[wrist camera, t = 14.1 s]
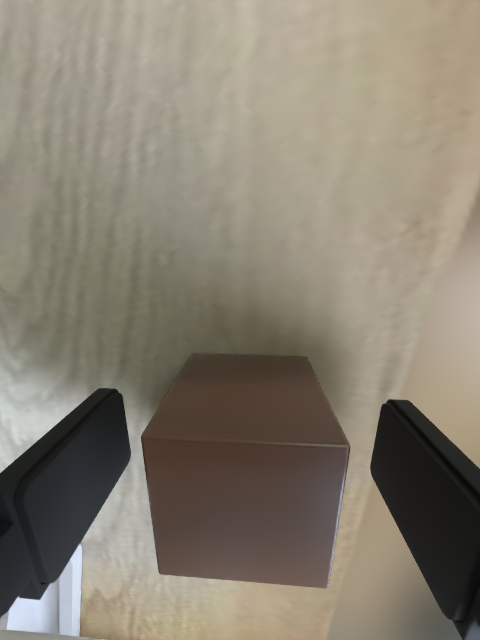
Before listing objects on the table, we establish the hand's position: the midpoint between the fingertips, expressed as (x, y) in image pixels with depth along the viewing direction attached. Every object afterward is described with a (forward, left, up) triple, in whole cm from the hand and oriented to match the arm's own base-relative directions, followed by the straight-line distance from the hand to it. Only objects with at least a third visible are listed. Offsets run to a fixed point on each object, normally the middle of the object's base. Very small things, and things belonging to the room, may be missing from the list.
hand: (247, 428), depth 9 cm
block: (0, 0, -1) cm, 1 cm away
